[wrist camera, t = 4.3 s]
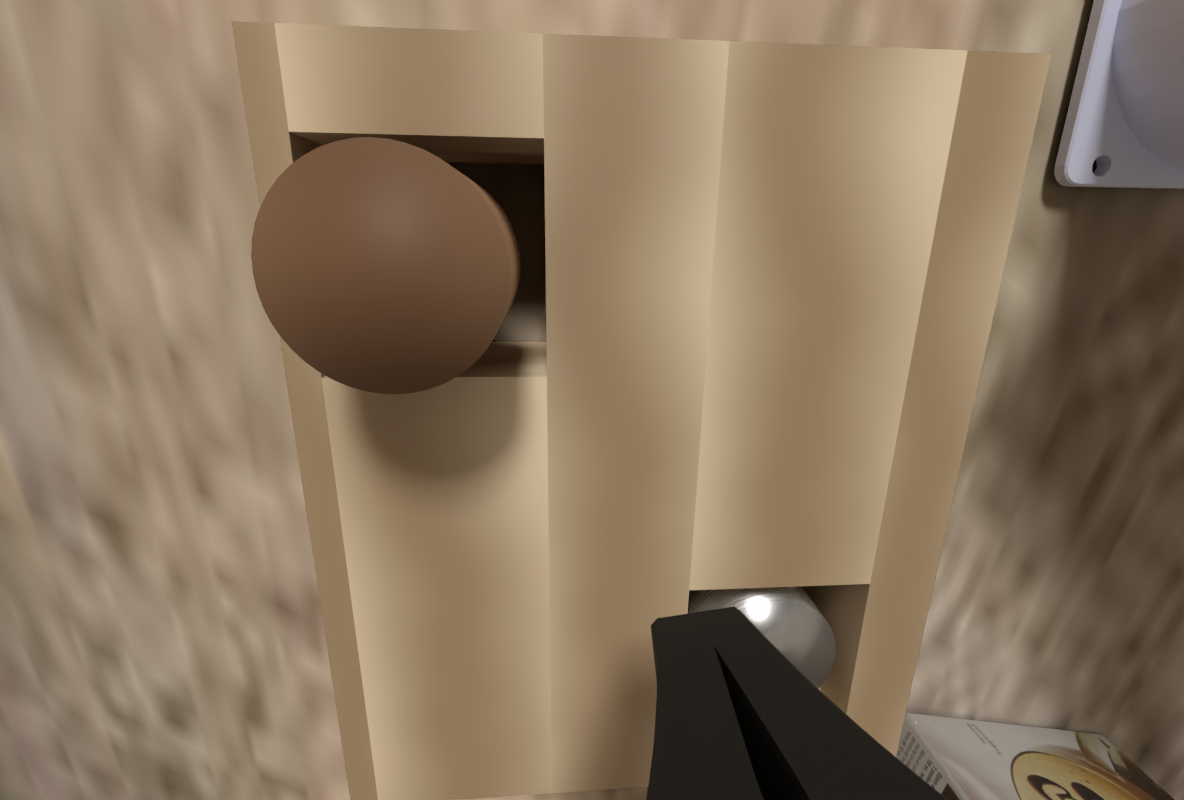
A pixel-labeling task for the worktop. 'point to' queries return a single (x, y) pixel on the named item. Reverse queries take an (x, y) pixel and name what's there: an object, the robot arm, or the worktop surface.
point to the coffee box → (1018, 762)
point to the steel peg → (780, 623)
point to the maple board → (648, 378)
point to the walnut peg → (384, 265)
